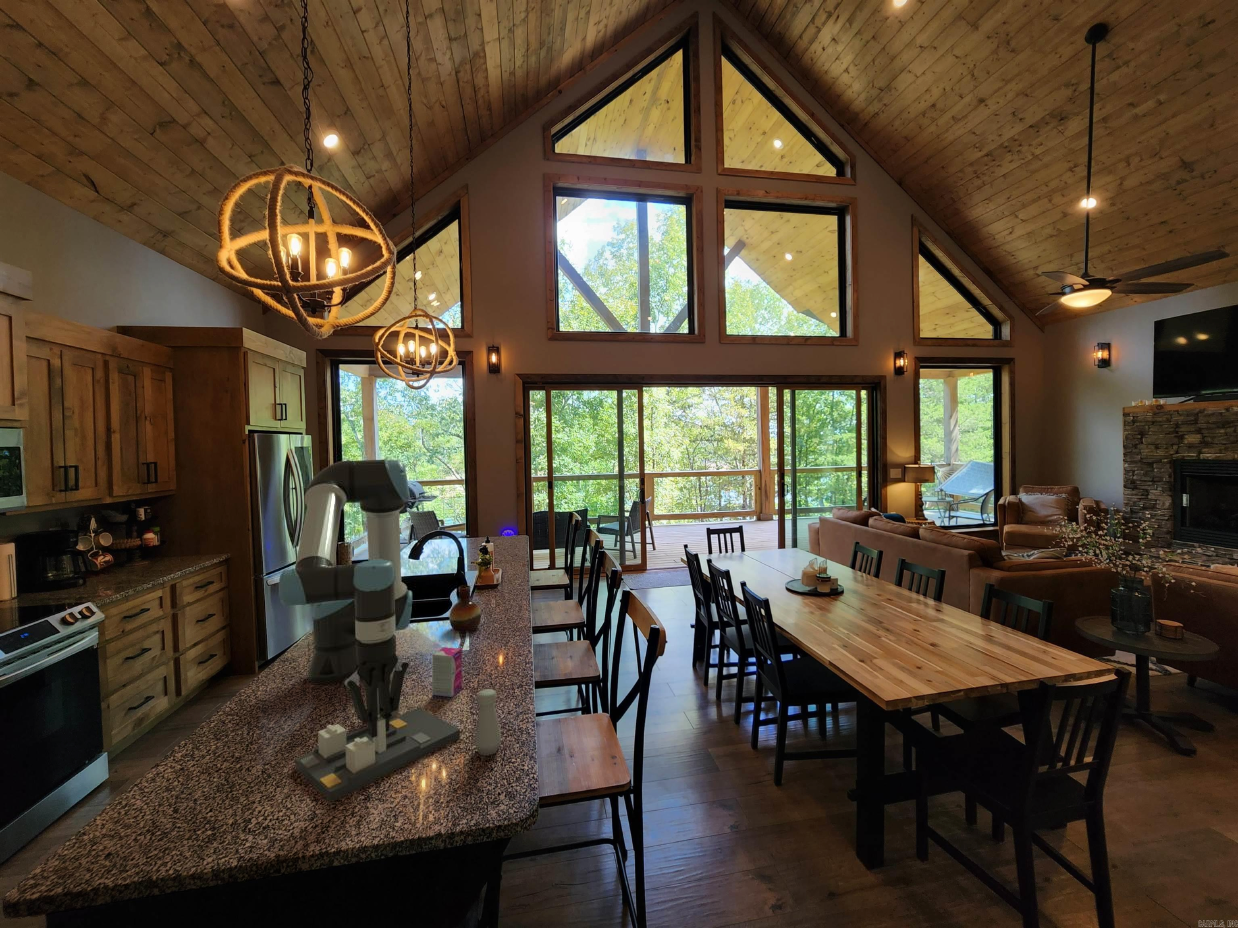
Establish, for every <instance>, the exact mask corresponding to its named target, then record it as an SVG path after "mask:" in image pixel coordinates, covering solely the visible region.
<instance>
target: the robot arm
mask: <svg viewBox="0 0 1238 928" xmlns="http://www.w3.org/2000/svg"><path fill="white" fill-rule="evenodd" d="M407 475H408V474H407V470H406V465H405V464H404V462H403V461H402V460H398V459H387V458H385V459H365V460H363V459H362V460H341V461H336V462H335V463H332V464H330V465H329V466H327V467H325V468H323V469H321V471H319V472H318V473H317V474H315V476H314V477H313V478H312V479H311V480H310V482H309V484H308V486H307V488H306V490H305V494H304V503H305V505H306V512H305V516H304V522H303V527H302V532H301V535H300V541H299V546H298V550H297V556H296V561H295V565H294V568H291V569H285V570H283V571H282V572H281V574H280V575H279V579H278V597H279V601H280V602H281V604H282V605H284V606H306V605H311V604H313V607H312V608H313V609H312V617H311V619H312V622H313V625H312V626H313V646H314V647H313V650H314V651H313V654H312V657H311V661H310V663H309V667H308V670H307V678H308V679H307V680H308V681H309V682H310V683H311V684H316V685H331V684H332V685H333V684H338V683H343V685H345V687H346V688H347V689H348V691H349V694H350V698H351V700H352V704H353V707H354V711H355V714H356V717H357V719H358V720H359V721H360V722H362V723H363V724H367V726H368V734H369V736H370V737H372V738H373V743H375V751H377V752H378V753H381V752H383V751H385V750H386V732H388V731H389V720H390V719H392V718H391V717H392V714H391V713H392V712H393V711H397V710H398V707H399V701H400V702H401V695H402V690H403V684H404V679H405V675H406V672H407V670H408V668H409V666H410V663H409V662H407V661H405V660H403V659H399V657H398V656H397V653H396V652H397V637H396V635H395V633H396V632H398V631H404V630H406V629H407V628H408V627H409V625H410V621H411V617H412V616H411V614H412V605H413V592H412V590H408V586H407V585H406V584H405V583H404V582H402V559H401V528H400V527H401V525H400V511H401V510H403V509H404V507H405V506H406V505H405V504H406V503H405V502H407V501H409V500H410V499H411V495H410V489H409V483H408V476H407ZM349 503H351V504H356V503H357V504H359V508H360V510H361V511H362V512H363V513H365V515H366V530H367V531H366V534H367V553H368V560H367V561H366V560H365V561H362V562H360V563H353V564H342V565H335V561H336V552H337V545H338V537H339V529H340V522H341V521H340V520H341V513H342V509H344V508H345V505H346V504H349ZM394 669H395V670H394ZM393 670H394V673H393V678H392V683H391V689H390V691H389V684H390V675H391V673H392V671H393ZM359 678H360V679H361V681H362V682H364V687H365V698H366V699H365V701H364V698H363V695H362V691H361V689H360V687H359V685H360V680H359ZM377 689H378V696H379V713H380V715H378V703H377ZM399 708H400V707H399Z"/></svg>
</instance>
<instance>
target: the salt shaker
mask: <svg viewBox="0 0 1238 928" xmlns="http://www.w3.org/2000/svg"><path fill="white" fill-rule="evenodd" d="M497 700H498V695H497V692H496V691H495V690H494V689H491V688H485V689H482V690H480V691H479V692H477V694H476V703H477V705H478V706H479V708H478V714H477V721H476V726H475V733H474V739H473V744H474V746H475V748H476V750H477V753H478V754H479V755H481V756H484V757H485V756H490V755H493V754H496V752H497V750H498V749H499V746H500V744H501V741H502V732H501V729H500V724H499V718H498V715H497V708H496V705H495V703H496V702H497Z"/></svg>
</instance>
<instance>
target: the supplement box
mask: <svg viewBox="0 0 1238 928" xmlns="http://www.w3.org/2000/svg"><path fill="white" fill-rule="evenodd" d="M462 661H463V649H462V648H457V647H454V648H453V647H448V646H447V647H445V646H443V647H442V648H440V649H439V650H437V651H436V652H435V653H433V654H432V697H433V698H439V699H440V698H441V699H453V698H454V696H455V695H457V694H458V693H460V691H462V690H463V686H462V685H463V673H462V672H463V667H462V665H463V663H462Z"/></svg>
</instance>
